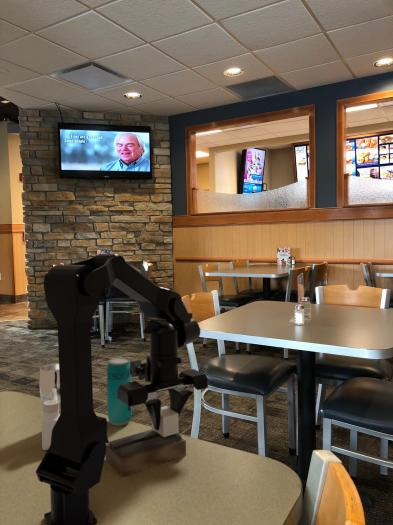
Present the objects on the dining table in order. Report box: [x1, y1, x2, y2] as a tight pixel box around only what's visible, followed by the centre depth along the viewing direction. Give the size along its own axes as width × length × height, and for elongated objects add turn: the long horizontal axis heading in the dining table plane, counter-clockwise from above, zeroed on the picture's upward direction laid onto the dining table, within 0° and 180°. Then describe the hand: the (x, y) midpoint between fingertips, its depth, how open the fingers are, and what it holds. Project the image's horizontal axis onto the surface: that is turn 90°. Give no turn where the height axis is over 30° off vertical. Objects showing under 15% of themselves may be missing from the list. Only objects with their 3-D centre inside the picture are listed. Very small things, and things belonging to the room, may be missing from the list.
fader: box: [151, 405, 179, 437], centre depth 89 cm, size 4×5×5 cm
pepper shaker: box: [41, 400, 60, 451], centre depth 92 cm, size 4×4×10 cm
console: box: [104, 428, 187, 478], centre depth 87 cm, size 14×8×4 cm, turn 125°
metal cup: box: [38, 362, 61, 414], centre depth 99 cm, size 7×7×15 cm
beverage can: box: [106, 357, 133, 427], centre depth 104 cm, size 6×6×15 cm
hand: (164, 427), depth 89 cm, fingers closed on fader, 3 cm apart
